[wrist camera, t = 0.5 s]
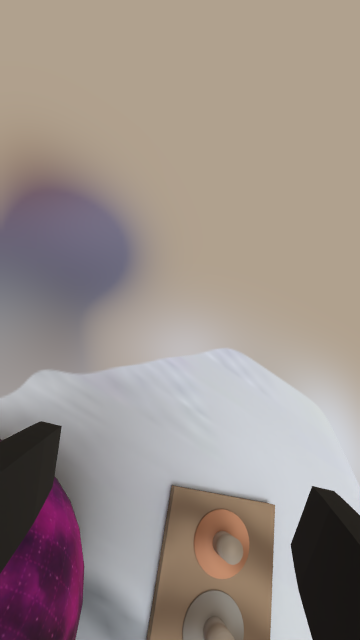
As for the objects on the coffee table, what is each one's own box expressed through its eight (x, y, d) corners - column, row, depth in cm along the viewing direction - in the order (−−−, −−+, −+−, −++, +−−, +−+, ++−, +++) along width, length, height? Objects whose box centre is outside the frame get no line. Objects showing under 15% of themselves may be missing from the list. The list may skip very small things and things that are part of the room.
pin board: (255, 798, 25) (283, 864, 21) (121, 790, 24) (124, 859, 20) (268, 503, 34) (290, 509, 30) (171, 485, 33) (181, 489, 29)
